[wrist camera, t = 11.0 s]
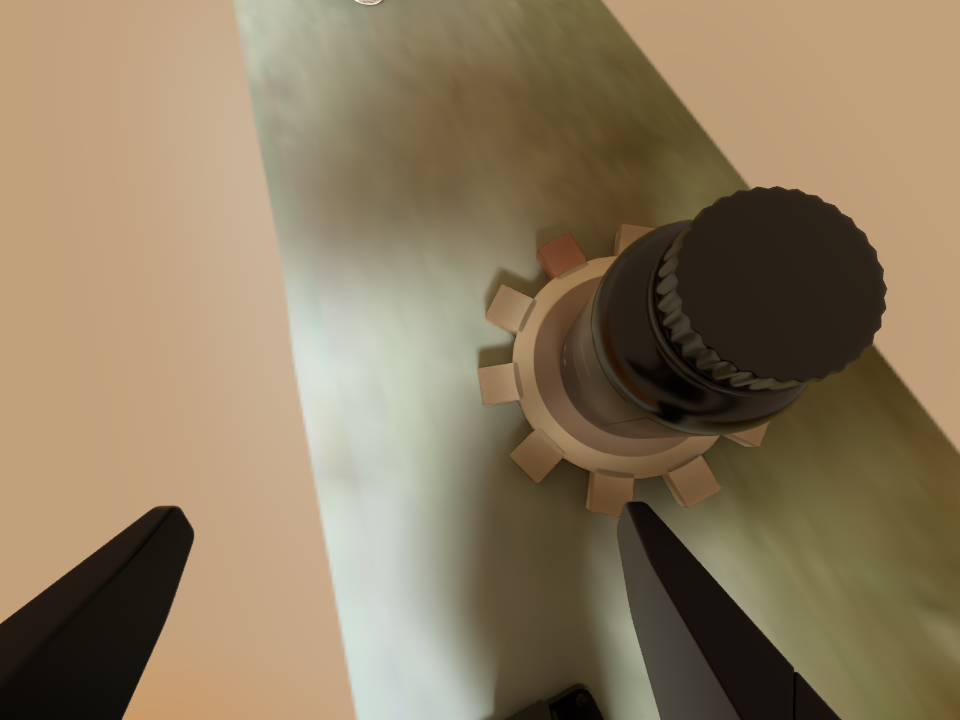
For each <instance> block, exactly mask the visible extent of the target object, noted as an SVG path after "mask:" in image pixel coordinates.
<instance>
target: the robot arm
mask: <svg viewBox="0 0 960 720" xmlns="http://www.w3.org/2000/svg"><path fill="white" fill-rule="evenodd" d="M617 537H618V543H619V549H620V555H621V561H622V567H623V572H624V578H625V584H626V590H627V595H628V601H629V606H630V611H631V616H632V620H633V624H634V627H635V631H636V634H637V638H638V641H639V645H640V648H641V652H642V655H643V659H644V662H645V666H646V669H647V673H648V676H649V680H650V683H651V687H652V690H653V694H654V697H655V701H656V704H657V708H658V711H659V715H660V718H661V720H841V719H840V718H839V716H838V715H837V714H836V713H835V712H834V711H833V710H832V709H831V708H830V707H829V706H828V705H827V704H826V702H825V701H824V700H823V699H822V698H821V697H820V696H819V695H818V694H817V693H816V692H815V690H814V689H813V688H812V687H811V686H810V685H809V684H808V683H807V682H806V680H805V679H804V678H803V677H802V676H801V675H800V674H799V673H798V672H794V667H793V666H792V665H791V664H790V663H789V662H788V661H787V659H786V658H785V657H784V656H783V655H782V654H781V653H780V652H779V651H778V649H777V648H776V647H775V646H774V645H773V644H772V643H771V642H770V640H769V639H768V638H767V637H766V636H765V635H764V634H763V633H762V632H761V630H760V629H759V628H758V627H757V626H756V625H755V624H754V623H753V621H752V620H751V619H750V618H749V617H748V616H747V615H746V614H745V613H744V611H743V610H742V609H741V608H740V607H739V606H738V605H737V604H736V603H735V601H734V600H733V599H732V598H731V597H730V596H729V595H728V594H727V592H726V591H725V590H724V589H723V588H722V587H721V586H720V585H719V584H718V582H717V581H716V580H715V579H714V578H713V577H712V576H711V575H710V573H709V572H708V571H707V570H706V569H705V568H704V567H703V566H702V565H701V563H700V562H699V561H698V560H697V559H696V558H695V557H694V556H693V555H692V553H691V552H690V551H689V550H688V549H687V548H686V547H685V546H684V544H683V543H682V542H681V541H680V540H679V539H678V538H677V537H676V536H675V534H674V533H673V532H672V531H671V530H670V529H669V528H668V527H667V525H666V524H665V523H664V522H663V521H662V520H661V519H660V518H659V517H658V515H657V514H656V513H655V512H654V511H653V510H652V509H651V508H650V507H649V505H648V504H646V503H644V502H625V503H624V504H623V507H622V510H621V514H620V518H619V522H618V526H617ZM193 540H194V530H193V528H192V526H191V524H190V523H189V521H188V519H187V518H186V516H185V515H184V513H183V511H182V510H181V508H180V507H178V506H158V507H155V508H153V509H151V510H150V511H148V512H147V513H146V514H144V515H143V516H142V517H140V518H139V519H138V520H137V521H135V522H134V523H133V524H131V525H130V526H129V527H127V528H126V529H125V530H123V531H122V532H121V533H119V534H118V535H117V536H115V537H114V538H113V539H112V540H110V541H109V542H108V543H106V544H105V545H104V546H102V547H101V548H100V549H98V550H97V551H96V552H94V553H93V554H92V555H91V556H89V557H88V558H86V559H85V560H84V561H83V562H81V563H80V564H79V565H77V566H76V567H75V568H73V569H72V570H71V571H69V572H68V573H67V574H65V575H64V576H63V577H61V578H60V579H59V580H57V581H56V582H55V583H54V584H52V585H51V586H50V587H48V588H47V589H46V590H44V591H43V592H42V593H40V594H39V595H38V596H37V597H35V598H34V599H33V600H31V601H30V602H29V603H27V604H26V605H25V606H23V607H22V608H21V609H19V610H18V611H17V612H16V613H14V614H13V615H11V616H10V617H9V618H7V619H6V620H5V621H3V622H2V623H1V624H0V720H122V718H123V716H124V714H125V712H126V709H127V707H128V705H129V703H130V700H131V698H132V696H133V694H134V691H135V689H136V687H137V685H138V683H139V680H140V678H141V676H142V674H143V671H144V669H145V667H146V665H147V662H148V660H149V658H150V656H151V654H152V651H153V649H154V647H155V645H156V642H157V640H158V638H159V636H160V633H161V631H162V629H163V626H164V624H165V622H166V619H167V617H168V614H169V612H170V609H171V606H172V603H173V601H174V597H175V595H176V592H177V589H178V586H179V583H180V580H181V577H182V574H183V571H184V568H185V565H186V562H187V559H188V556H189V553H190V550H191V547H192V544H193ZM581 694H583V695H585V696H586V698H585V700H584V701H583V702H578V701H577V700H576V699H577V697H578V696H579V695H581ZM506 720H604V718H603V716H602V714H601V712H600V710H599V708H598V706H597V704H596V702H595V700H594V698H593V696H592V694H591V692H590V690H589V689H588V687H587V686H585V685H584V684H576V685H574V686H572V687H570V688H568V689H567V690H565V691H563V692H561V693H560V694H558V695H556V696H554V697H553V698H551V699H549V700H547V701H544V700H539V701H537V702H535V703H534V704H532V705H530V706H528V707H527V708H525V709H523V710H521V711H520V712H518V713H516V714H514V715H513V716H511V717H509V718H507V719H506Z"/></svg>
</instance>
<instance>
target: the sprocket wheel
mask: <svg viewBox="0 0 960 720" xmlns="http://www.w3.org/2000/svg"><path fill="white" fill-rule="evenodd" d="M654 229H656V228H650V227H643V226H635V225H628V224H622V225H621V226H620V228H619V230H618V231H617V233H616V237H615V246H614V255H613V256H610V257H604V258H597V259H593V260H590V261H587V260H586V259H585V257H584V255H583V254H582V252H581V250H580V248H579V247H578V245H577V243H576V242H575V240H574V238H573V237H572V235H571V233H570V232H569V233H567V234H565V235H563V236H561V237H559V238H557V239H555V240H553V241H551V242H549V243H547V244H545V245H543V246H541V247H539V250H538V253H537V258H538V260H539V262H540V264H541V265H542V267H543V269H544V271H545V272H546V274H547V276H548V278H549V279H550V282H549V283H548V284H547V285H546V286H545V287H544V288H543V289H542V290H541V291H540V292H539V293H538V294H537V295H536V297H535V298H534V299H532V298H530V297H528V296H526V295H524V294H522V293H520V292H517V291H515V290H513V289H511V288H509V287H507V286H505V285H503V284H501V286H500V288H499V290H498V292H497V294H496V296H495V298H494V300H493V302H492V304H491V306H490V308H489V310H488V312H487V313H486V321H487V322H489V323H491V324H493V325H495V326H497V327H499V328H501V329H503V330H505V331H507V332H509V333H511V334H513V335H516V339H515V343H514V347H513V356H512V363H508V364H502V365H496V366H490V367H484V368H478V369H477V370H478V376H479V382H480V388H481V394H482V400H483V406H484V407H485V406H491V405H497V404H503V403H509V402H515V401H518V402H519V405H520V407H521V409H522V411H523V414H524V416H525V418H526V419H527V421H528V422H529V424H530V426H531V427H532V429H533V431H532V432H531V433H530V434H529V435H528V436H527V437H526V438H525V439H524V440H523V441H522V442H521V444H520V445H519V446H518V447H517V448H516V449H515V450H514V451H513V452H512V453H511V454H510V455H509V456H510V457H511V458H512V459H513V460H514V461H515V462H516V463H517V464H518V465H519V466H520V467H521V468H522V469H523V470H524V471H525V472H526V473H527V474H528V475H529V476H530V477H531V478H532V479H533V480H534V481H535V482H536V483H537V484H538V483H539V482H540V481H541V480H542V479H543V478H544V477H545V476H546V475H547V474H548V473H549V472H550V471H551V470H552V468H553V467H554V466H555V465H556V464H557V463H558V462H559V461H560V460H561V459H562V458H564V459H565V460H567V461H569V462H571V463H573V464H574V465H576V466H578V467H581V468H583V469H586V470H589V471H590V474H589V484H588V493H587V502H586V508H587V509H588V510H589V511H591V512H596V513H602V514H608V515H615V516H620V514H621V510H622V507H623V504H624V503H625V502H632V495H633V484H634V479H636V478H648V477H655V476H659V475H661V476H662V477H663V479H664V481H665V483H666V484H667V486H668V488H669V490H670V491H671V493H672V495H673V497H674V498H675V500H676V502H677V504H678V505H681V506H684V507H687V508H690V507H692V506H694V505H695V504H697V503H699V502H701V501H703V500H704V499H706V498H708V497H710V496H712V495H713V494H715V493H717V492H719V491H721V490H722V489H721V487H720V485H719V484H718V482H717V480H716V479H715V477H714V475H713V474H712V472H711V470H710V468H709V467H708V465H707V463H706V462H705V460H704V458H703V457H702V454H703V453H704V452H705V451H706V450H708V449H709V448H710V447H711V446H712V444H713V443H714V442H715V441H716V440H717V439H718V438H719V436H720V435H718V436H698V437H677V438H655V439H630V438H623V437H619V436H615V435H612V434H609V433H606V432H604V431H602V430H600V429H598V428H597V427H595V426H593V425H592V424H591V423H589V422H588V421H587V420H586V419H585V418H583V417H582V416H581V415H580V414H579V412H578V411H577V410H576V409H575V408H574V406H573V405H572V403H571V402H570V400H569V398H568V396H567V394H566V392H565V389H564V387H563V383H562V379H561V374H560V355H561V350H562V345H563V342H564V339H565V337H566V335H567V333H568V331H569V329H570V327H571V325H572V324H573V322H574V320H575V319H576V317H577V316H578V314H579V313H580V311H581V310H582V308H583V306H584V305H585V303H586V302H587V300H588V299H589V297H590V296H591V294H592V292H593V291H594V289H595V288H596V286H597V285H598V283H599V282H600V280H601V279H602V277H603V275H604V274H605V272H606V271H607V270H608V268H609V267H610V265H611V264H612V263H613V262H614V260H615V259H616V258H617V257H618V256H619V255H620V254H621V252H622V251H623V250H624V249H625V248H627V247H628V246H629V245H630V244H631V243H632V242H634V241H635V240H637V239H638V238H639V237H641V236H643V235H644V234H646V233H648V232H650V231H652V230H654ZM769 422H770V421H769ZM769 422H767V423H765V424H763V425H761V426H759V427H756V428H753V429H751V430H747V431H743V432H739V433H733V434H727V435H722V436H724V437H726V438H728V439H731V440H733V441H735V442H737V443H739V444H741V445H743V446H745V447H760V445H761V442H762V439H763V437H764V434H765V432H766V429H767V427H768V424H769Z"/></svg>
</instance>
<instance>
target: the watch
mask: <svg viewBox="0 0 960 720" xmlns="http://www.w3.org/2000/svg"><path fill="white" fill-rule="evenodd" d="M355 1H357V2H359V3H361V4H366V5H374V4H377V3H379V2H381V1H382V0H355Z"/></svg>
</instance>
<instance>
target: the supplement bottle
mask: <svg viewBox="0 0 960 720" xmlns="http://www.w3.org/2000/svg"><path fill="white" fill-rule="evenodd" d="M883 272H884V269H883V268H882V266H881V265H880V263H879V262H878V260H877V253H876V250H875V249H874V248H873V247H872V246H871V245H870V244H869V242H868V239H867V236H866V234H865V233H864V232H863V231H861V230H860V229H858V228H857V227H856V226H855V224H854V222H853V220H852V218H850V217H848V216H846V215H844V214H842V213H841V212H840V211H839V210H838V208H837V207H836V206H835V205H832V204H829V203H825V202H823V200H822V199H821V198H819V197H818V196H816V195H807V194H805V193H804V192H802V191H800V190H798V189H791V190H787V189H784V188H781V187H778V186H776V187H772V188H769V189H767V188H763V187H755V188H753V189H752V190H750V191H745V190H738V191H737V192H735V193H734V194H732V195H731V196H727V197H721V198H719V199H718V200H717V201H715V203H714V204H713V205H712V206H709V207H706V208H704V209H703V210H701V211H700V212H699V213H698V215H697V216H696V217H695V218H694V219H692V220H685V221H679V222H675V223H671V224H667V225H664V226H661V227H658V228H656V229H654V230H652V231H650V232H648V233H646V234H644V235H643V236H641V237H639V238H638V239H637V240H635V241H634V242H632V243H631V244H630V245H629V246H628V247H627V248H625V249H624V250H623V251H622V252H621V254H620V255H619V256H618V257H617V258H616V259H615V260H614V262H613V263H612V264H611V265H610V267H609V268H608V270H607V271H606V272H605V274H604V275H603V277H602V279H601V280H600V282H599V283H598V285H597V286H596V288H595V289H594V291H593V292H592V294H591V296H590V297H589V299H588V300H587V302H586V303H585V305H584V306H583V308H582V310H581V311H580V313H579V314H578V316H577V317H576V319H575V320H574V322H573V324H572V325H571V327H570V329H569V331H568V333H567V335H566V337H565V339H564V342H563V345H562V350H561V355H560V374H561V379H562V383H563V387H564V389H565V392H566V394H567V396H568V398H569V400H570V402H571V403H572V405H573V406H574V408H575V409H576V410H577V411H578V412H579V414H580V415H581V416H582V417H583V418H585V419H586V420H587V421H588V422H589V423H591V424H592V425H593V426H595V427H597V428H598V429H600V430H602V431H604V432H606V433H609V434H612V435H615V436H619V437H623V438H630V439H655V438H677V437H698V436H718V435H727V434H733V433H739V432H743V431H747V430H751V429H753V428H756V427H759V426H761V425H763V424H765V423H767V422H769V421H771V420H773V419H774V418H776V417H778V416H779V415H781V414H782V413H783V412H785V411H786V410H787V409H788V408H790V407H791V406H792V405H793V404H794V403H795V402H796V401H797V400H798V399H799V397H800V396H801V395H802V394H803V392H804V391H805V390H806V388H807V387H808V385H809V384H810V383H813V382H818V381H821V380H823V379H824V378H826V377H827V376H828V375H832V374H836V373H839V372H841V371H843V370H844V369H845V368H846V366H847V365H848V364H849V363H851V362H854V361H856V360H858V359H859V358H860V356H861V355H862V352H863V350H864V349H865V348H867V347H869V346H870V345H872V343H873V339H874V334H875V333H876V332H877V331H878V330H879V329H880V328H881V316H882V314H883V313H884V311H885V310H886V304H885V300H884V296H885V294H886V291H887V288H886V285H885V283H884V281H883Z"/></svg>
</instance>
